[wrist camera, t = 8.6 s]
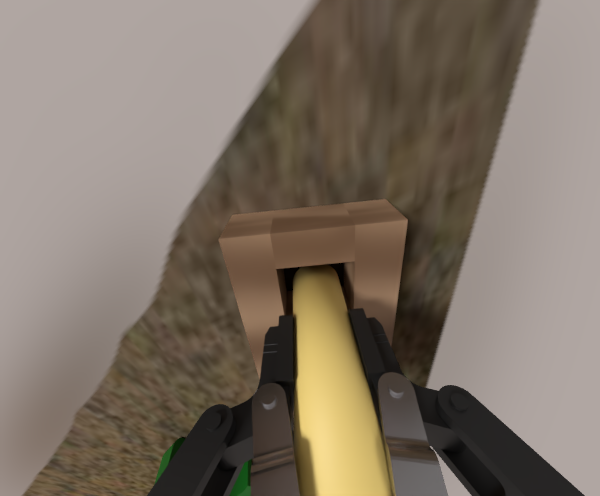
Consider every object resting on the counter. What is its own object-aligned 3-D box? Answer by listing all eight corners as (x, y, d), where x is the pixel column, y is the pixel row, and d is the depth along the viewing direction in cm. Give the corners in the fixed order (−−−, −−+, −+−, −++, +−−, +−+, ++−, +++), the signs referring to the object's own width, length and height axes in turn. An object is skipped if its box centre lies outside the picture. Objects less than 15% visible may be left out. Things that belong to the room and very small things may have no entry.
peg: (330, 302, 17) (380, 552, 7) (288, 295, 16) (283, 550, 7) (344, 267, 16) (430, 520, 6) (299, 258, 15) (311, 515, 6)
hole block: (372, 371, 25) (383, 408, 21) (273, 380, 25) (271, 418, 22) (385, 198, 16) (407, 219, 13) (232, 214, 16) (218, 239, 13)
